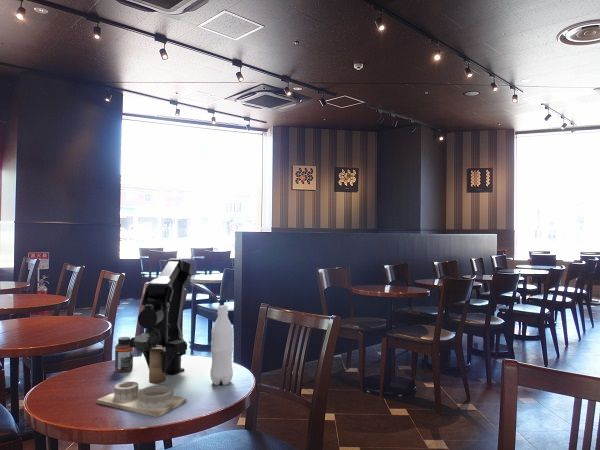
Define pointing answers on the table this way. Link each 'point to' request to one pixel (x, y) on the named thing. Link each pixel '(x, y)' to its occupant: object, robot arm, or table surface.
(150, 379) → the walnut peg
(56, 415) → the table surface
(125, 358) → the supplement bottle
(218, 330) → the water bottle
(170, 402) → the two-ring peg board
